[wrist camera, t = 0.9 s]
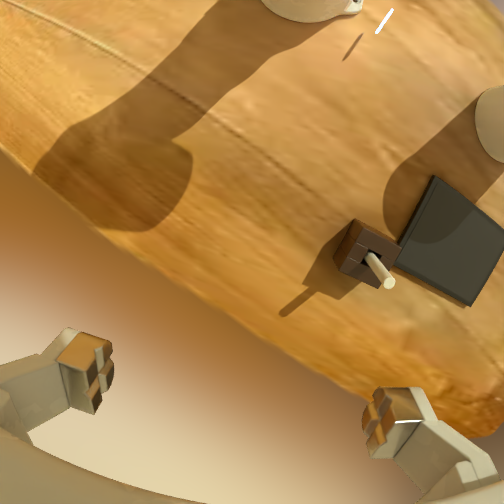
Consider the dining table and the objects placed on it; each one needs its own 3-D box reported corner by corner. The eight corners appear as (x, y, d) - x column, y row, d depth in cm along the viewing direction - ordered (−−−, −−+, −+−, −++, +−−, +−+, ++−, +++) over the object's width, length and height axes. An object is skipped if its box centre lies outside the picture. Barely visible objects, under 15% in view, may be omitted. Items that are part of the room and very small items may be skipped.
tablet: (432, 174, 44) (435, 175, 43) (508, 234, 46) (511, 236, 45) (386, 260, 49) (389, 263, 48) (468, 305, 52) (470, 307, 51)
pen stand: (354, 218, 47) (363, 226, 43) (391, 237, 48) (402, 248, 43) (332, 258, 50) (338, 270, 45) (369, 275, 50) (378, 289, 46)
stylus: (360, 241, 49) (387, 275, 36) (368, 245, 49) (397, 280, 37) (355, 250, 49) (381, 286, 37) (364, 254, 49) (390, 290, 37)
